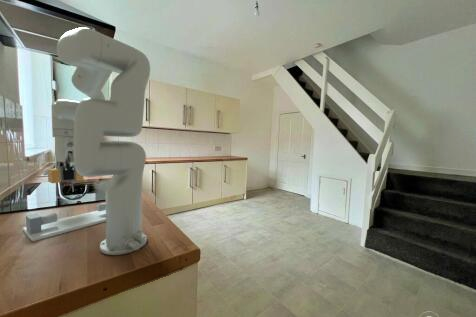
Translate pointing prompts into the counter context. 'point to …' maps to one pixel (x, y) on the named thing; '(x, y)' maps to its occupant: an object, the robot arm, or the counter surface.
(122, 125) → the robot arm
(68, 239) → the counter surface
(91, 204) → the counter surface
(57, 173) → the block
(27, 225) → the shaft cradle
